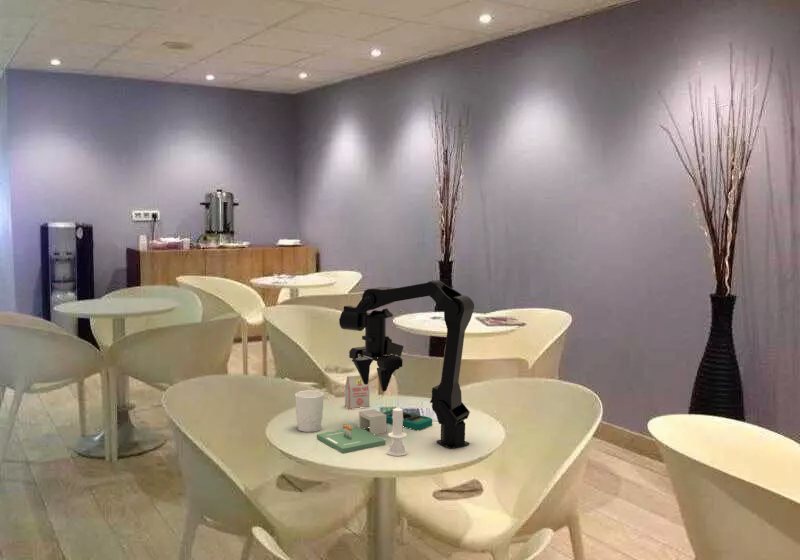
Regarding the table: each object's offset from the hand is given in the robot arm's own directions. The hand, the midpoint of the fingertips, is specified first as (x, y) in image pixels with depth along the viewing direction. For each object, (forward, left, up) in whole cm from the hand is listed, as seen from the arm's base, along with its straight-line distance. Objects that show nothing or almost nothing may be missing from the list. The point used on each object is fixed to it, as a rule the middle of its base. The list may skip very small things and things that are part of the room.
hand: (375, 387), depth 209 cm
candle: (-19, +6, -12) cm, 24 cm away
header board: (-6, +11, -12) cm, 17 cm away
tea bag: (+22, -8, -12) cm, 27 cm away
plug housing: (-1, +1, -12) cm, 12 cm away
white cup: (+10, +15, -12) cm, 22 cm away
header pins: (-6, +12, -11) cm, 17 cm away
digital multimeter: (0, -11, -13) cm, 17 cm away
